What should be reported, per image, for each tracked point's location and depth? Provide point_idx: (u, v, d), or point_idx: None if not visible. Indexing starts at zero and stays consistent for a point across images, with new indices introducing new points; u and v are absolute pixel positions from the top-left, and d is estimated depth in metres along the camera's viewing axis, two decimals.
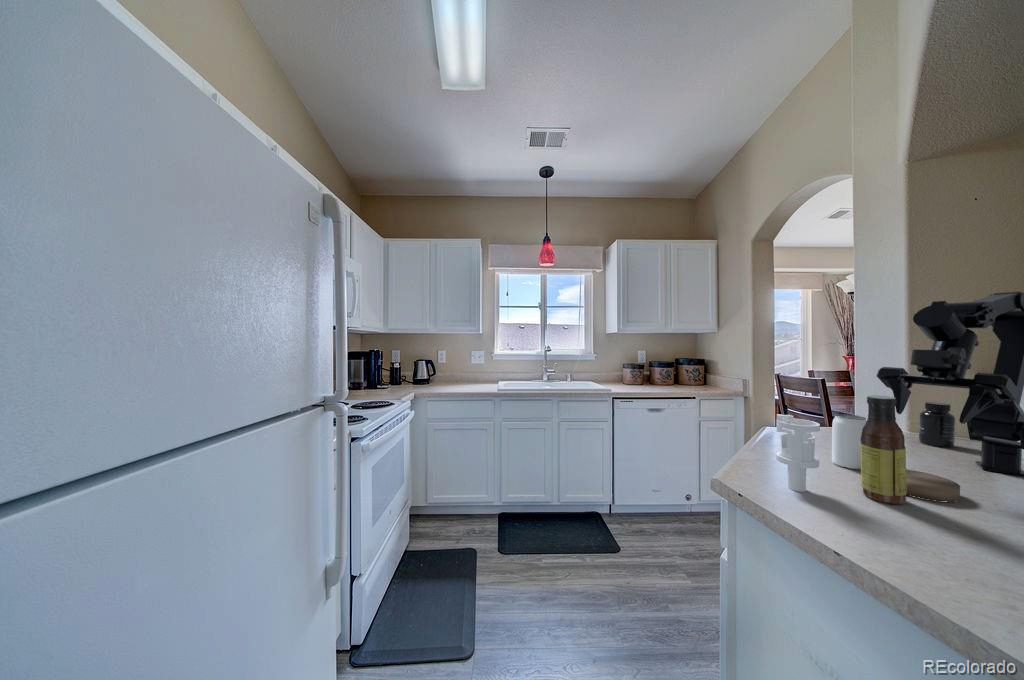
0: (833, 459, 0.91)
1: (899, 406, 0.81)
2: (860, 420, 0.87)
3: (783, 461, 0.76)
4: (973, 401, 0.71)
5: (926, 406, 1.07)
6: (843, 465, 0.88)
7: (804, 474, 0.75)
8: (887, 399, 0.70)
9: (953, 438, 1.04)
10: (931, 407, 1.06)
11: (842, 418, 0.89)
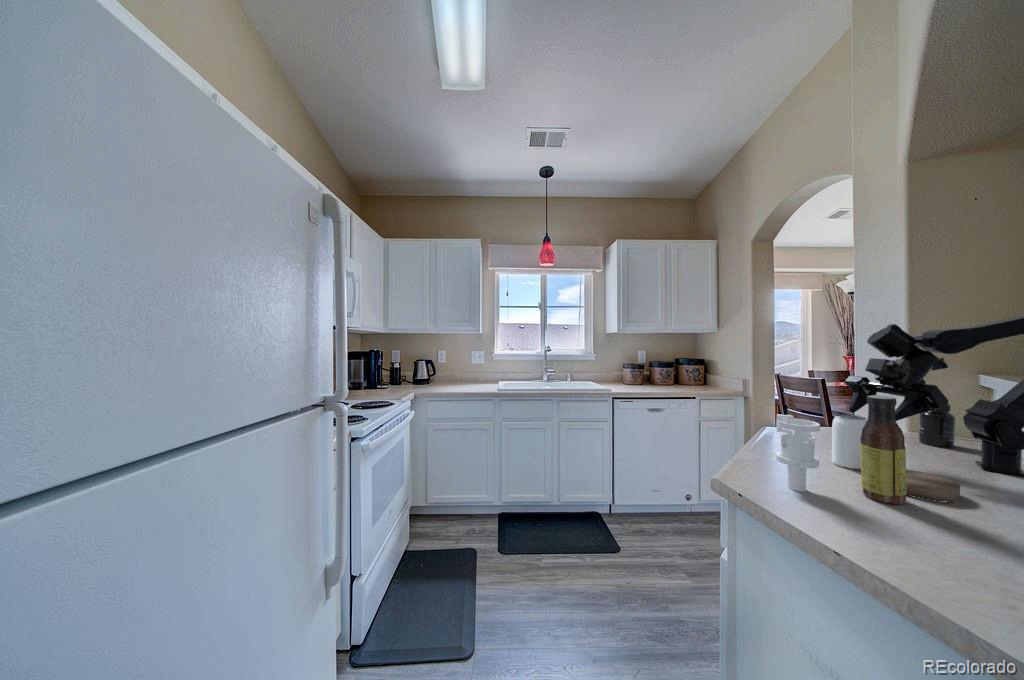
0: (833, 459, 0.91)
1: (852, 406, 0.95)
2: (860, 420, 0.87)
3: (783, 461, 0.76)
4: (905, 404, 0.85)
5: None
6: (843, 465, 0.88)
7: (804, 474, 0.75)
8: (887, 399, 0.70)
9: (953, 438, 1.04)
10: None
11: (842, 418, 0.89)
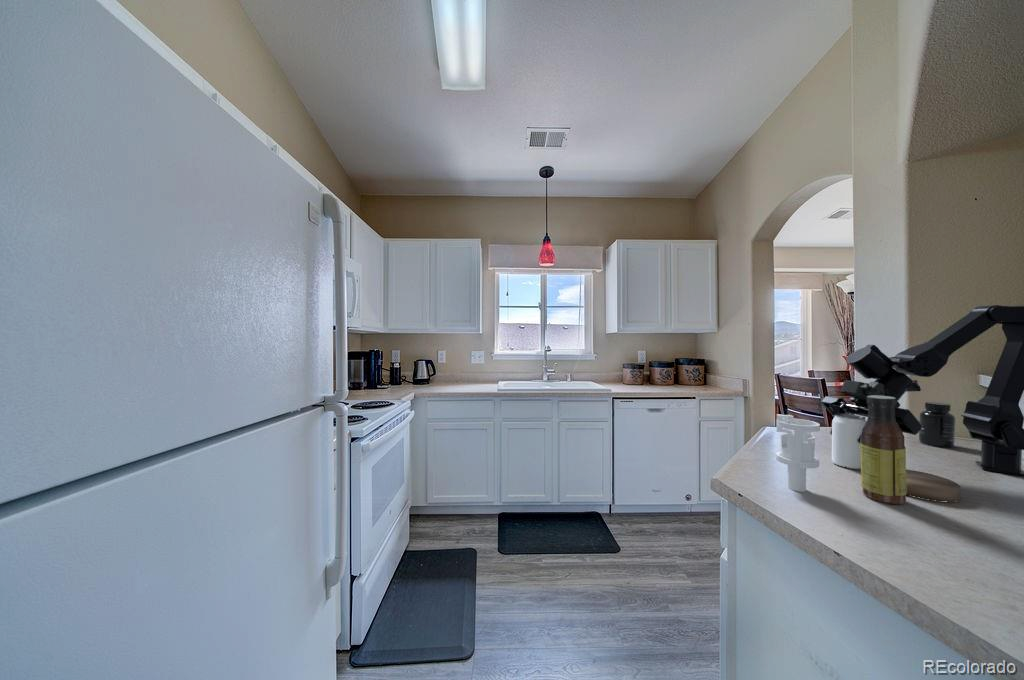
0: (833, 459, 0.91)
1: None
2: (859, 420, 0.87)
3: (783, 461, 0.76)
4: None
5: (926, 406, 1.07)
6: (843, 465, 0.88)
7: (804, 474, 0.75)
8: (887, 399, 0.70)
9: (953, 438, 1.04)
10: (931, 407, 1.06)
11: (842, 418, 0.89)
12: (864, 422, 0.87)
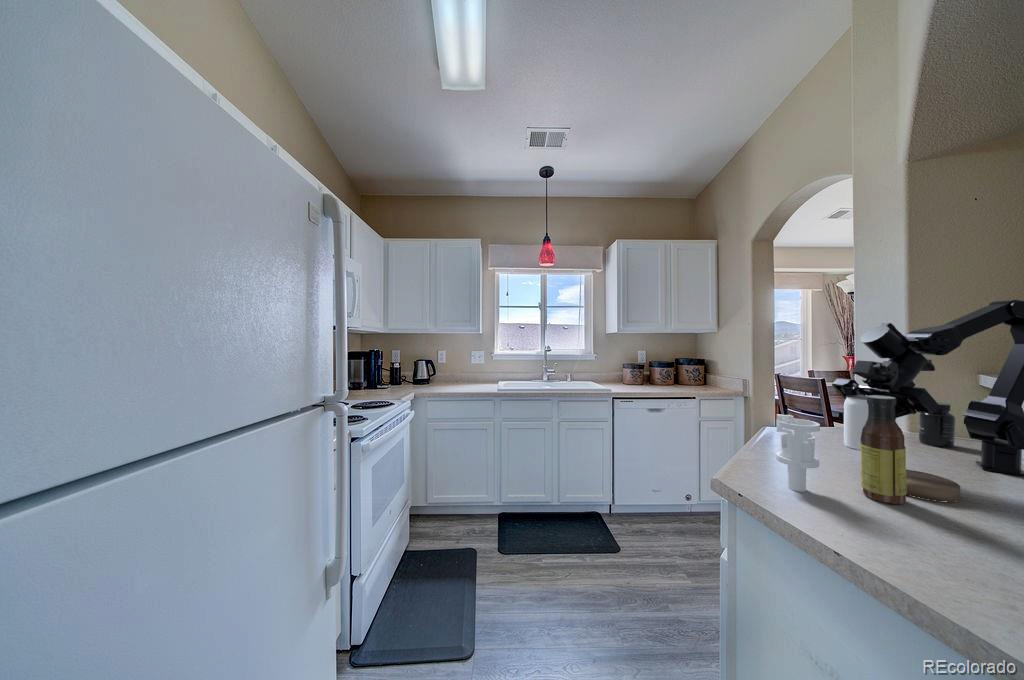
0: (845, 442, 0.88)
1: None
2: None
3: (783, 461, 0.76)
4: None
5: None
6: (856, 447, 0.86)
7: (804, 474, 0.75)
8: (887, 399, 0.70)
9: (953, 438, 1.04)
10: None
11: (854, 399, 0.86)
12: None
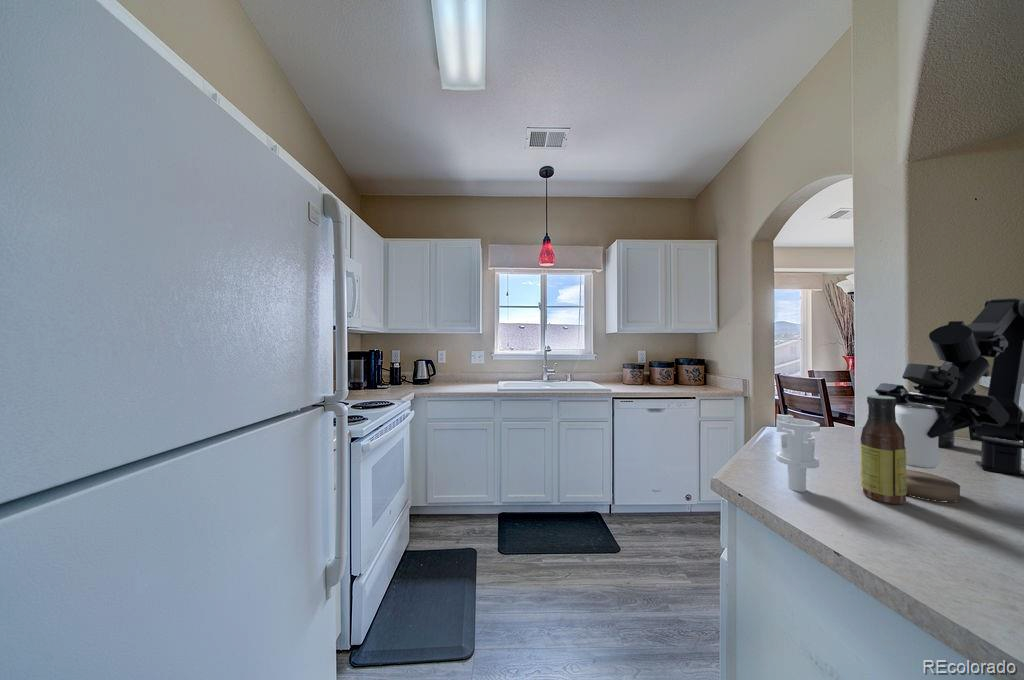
0: None
1: None
2: (929, 409, 0.74)
3: (783, 461, 0.76)
4: (945, 417, 0.72)
5: None
6: (908, 463, 0.75)
7: (804, 474, 0.75)
8: (887, 399, 0.70)
9: (953, 438, 1.04)
10: None
11: (906, 408, 0.76)
12: (934, 412, 0.74)
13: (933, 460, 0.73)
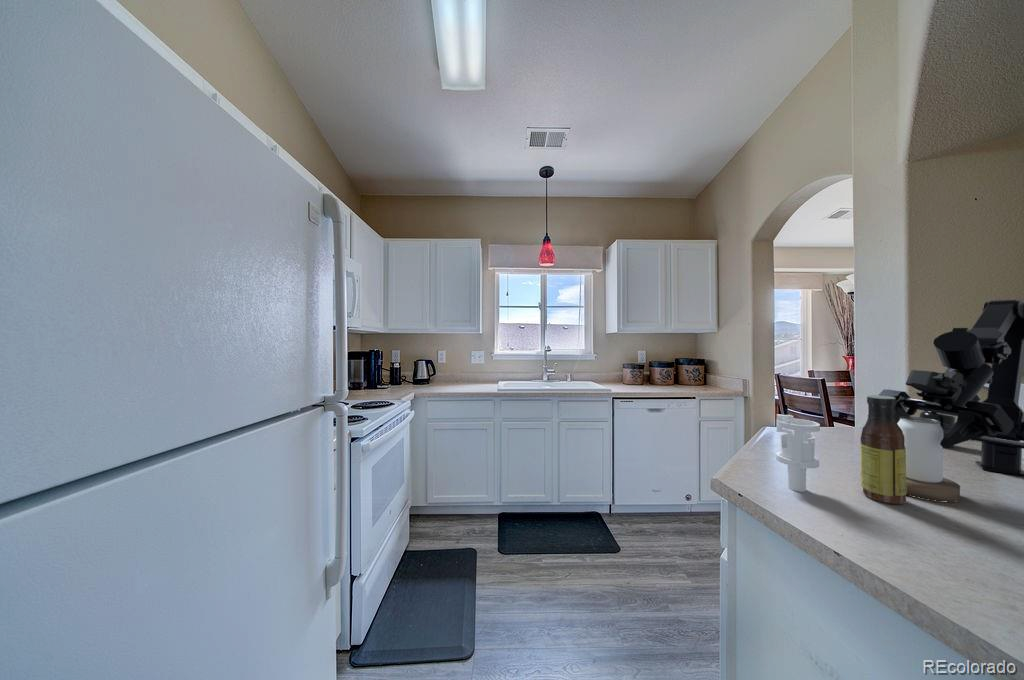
0: None
1: None
2: (934, 424, 0.73)
3: (783, 461, 0.76)
4: (959, 426, 0.70)
5: None
6: (912, 477, 0.74)
7: (804, 474, 0.75)
8: (887, 399, 0.70)
9: None
10: None
11: (910, 421, 0.75)
12: (939, 427, 0.73)
13: (937, 475, 0.73)
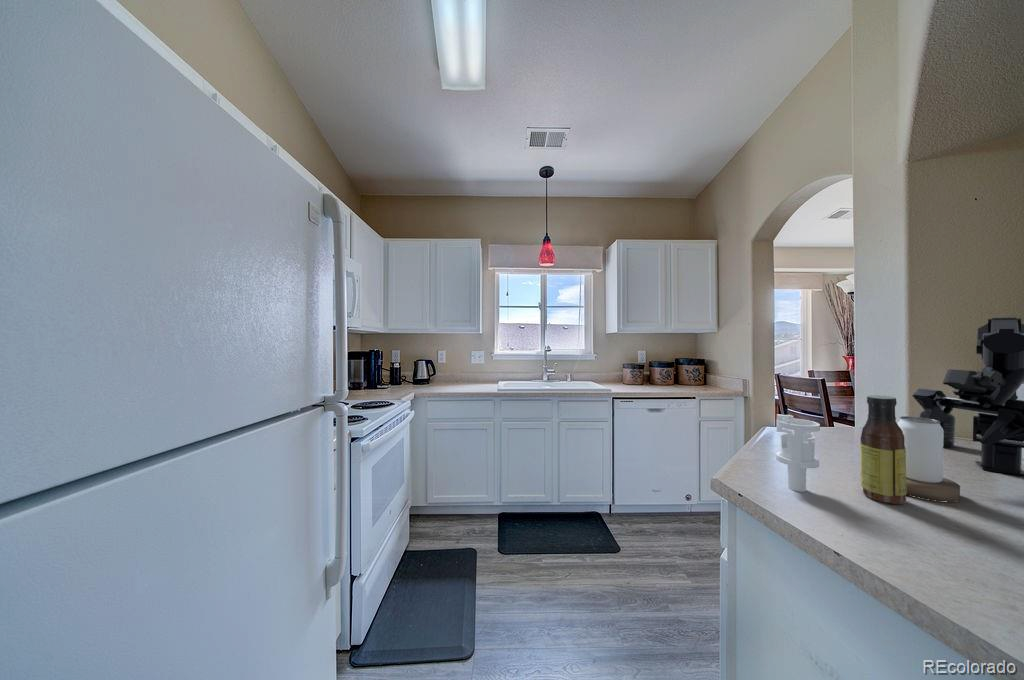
0: None
1: None
2: (934, 424, 0.73)
3: (783, 461, 0.76)
4: (999, 424, 0.71)
5: None
6: (912, 477, 0.74)
7: (804, 474, 0.75)
8: (887, 399, 0.70)
9: (953, 438, 1.04)
10: None
11: (911, 422, 0.75)
12: (939, 427, 0.73)
13: (937, 475, 0.73)
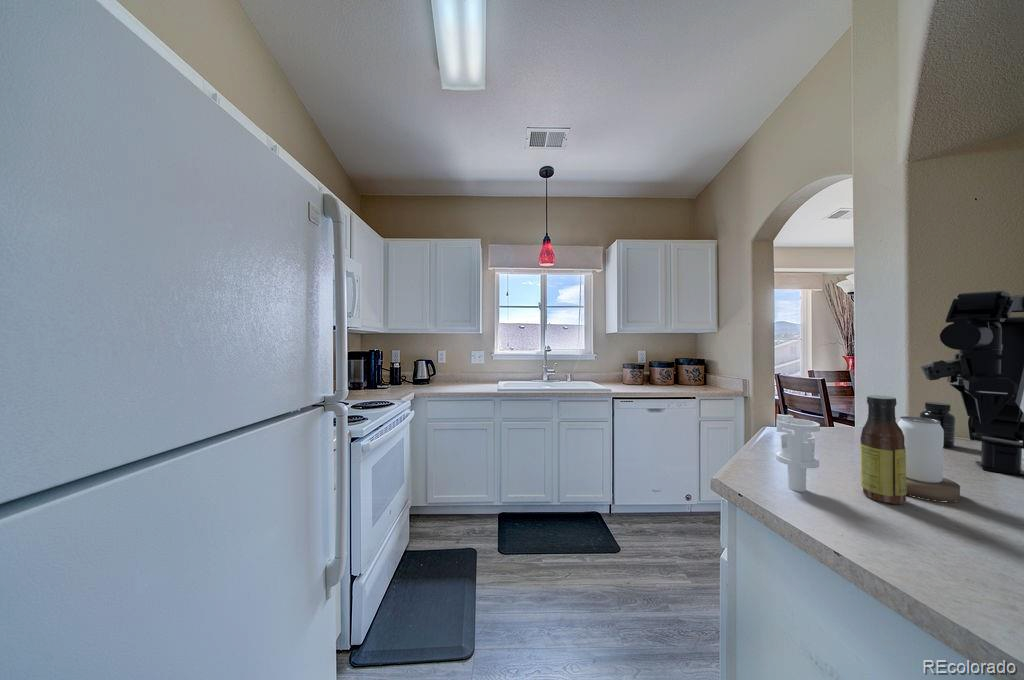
0: None
1: (966, 410, 0.85)
2: (934, 424, 0.73)
3: (783, 461, 0.76)
4: (977, 404, 0.78)
5: (926, 406, 1.07)
6: (912, 477, 0.74)
7: (804, 474, 0.75)
8: (887, 399, 0.70)
9: (953, 438, 1.04)
10: (931, 407, 1.06)
11: (911, 422, 0.75)
12: (939, 427, 0.73)
13: (937, 475, 0.73)
